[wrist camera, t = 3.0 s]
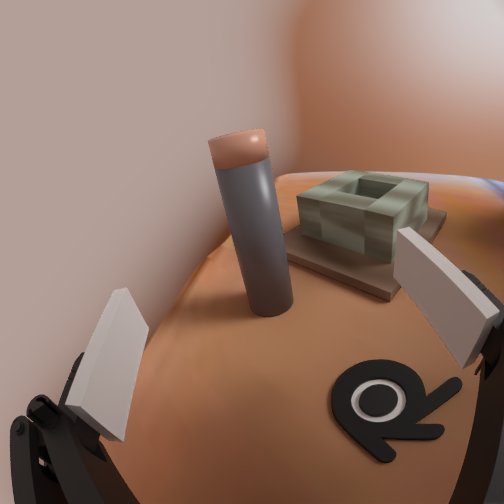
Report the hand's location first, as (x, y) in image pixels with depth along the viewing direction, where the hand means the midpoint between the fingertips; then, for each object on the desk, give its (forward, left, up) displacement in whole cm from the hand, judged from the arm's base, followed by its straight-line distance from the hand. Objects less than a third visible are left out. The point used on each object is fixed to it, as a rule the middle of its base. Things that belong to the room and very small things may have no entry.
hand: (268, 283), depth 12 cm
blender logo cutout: (-5, +9, -10) cm, 14 cm away
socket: (-22, -7, -9) cm, 25 cm away
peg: (-6, -8, -9) cm, 13 cm away
